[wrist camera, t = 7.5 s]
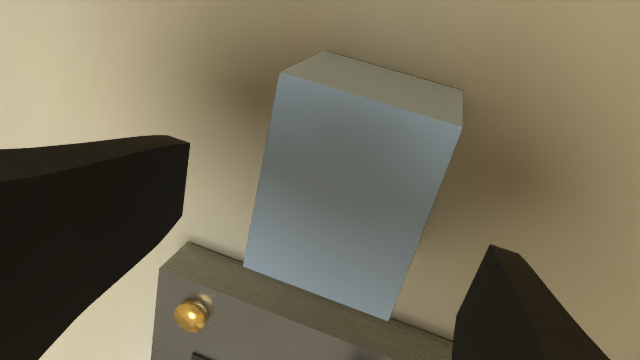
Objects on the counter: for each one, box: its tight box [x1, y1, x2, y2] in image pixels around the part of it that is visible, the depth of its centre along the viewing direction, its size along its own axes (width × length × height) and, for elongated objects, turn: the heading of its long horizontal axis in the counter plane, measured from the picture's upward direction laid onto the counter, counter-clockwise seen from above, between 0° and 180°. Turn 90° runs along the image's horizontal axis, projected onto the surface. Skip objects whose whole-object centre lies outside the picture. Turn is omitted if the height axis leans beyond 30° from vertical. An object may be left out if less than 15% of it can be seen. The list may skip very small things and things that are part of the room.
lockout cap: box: [243, 51, 463, 321], centre depth 14 cm, size 4×6×4 cm
